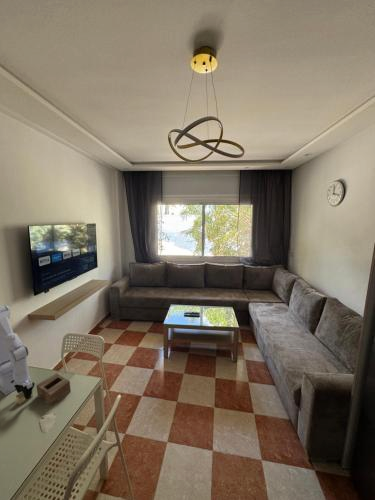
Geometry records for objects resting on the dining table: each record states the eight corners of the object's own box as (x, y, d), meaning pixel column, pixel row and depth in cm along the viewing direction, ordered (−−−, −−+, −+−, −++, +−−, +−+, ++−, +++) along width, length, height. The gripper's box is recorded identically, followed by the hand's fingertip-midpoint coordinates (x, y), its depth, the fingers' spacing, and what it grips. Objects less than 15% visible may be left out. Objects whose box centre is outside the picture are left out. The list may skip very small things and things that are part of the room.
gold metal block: (16, 403, 110) (15, 395, 110) (30, 394, 116) (29, 387, 115) (19, 405, 109) (18, 398, 109) (32, 396, 114) (31, 389, 114)
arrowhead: (57, 408, 105) (55, 428, 97) (57, 411, 106) (56, 432, 97) (39, 415, 102) (37, 436, 94) (40, 418, 103) (37, 439, 94)
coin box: (37, 395, 115) (36, 385, 114) (57, 382, 123) (56, 373, 122) (51, 405, 109) (50, 394, 108) (70, 391, 118) (69, 381, 116)
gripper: (4, 370, 110) (7, 394, 112) (19, 381, 103) (22, 407, 105) (20, 362, 116) (23, 385, 118) (35, 371, 109) (38, 396, 111)
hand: (24, 394), depth 112 cm, fingers open, 7 cm apart
